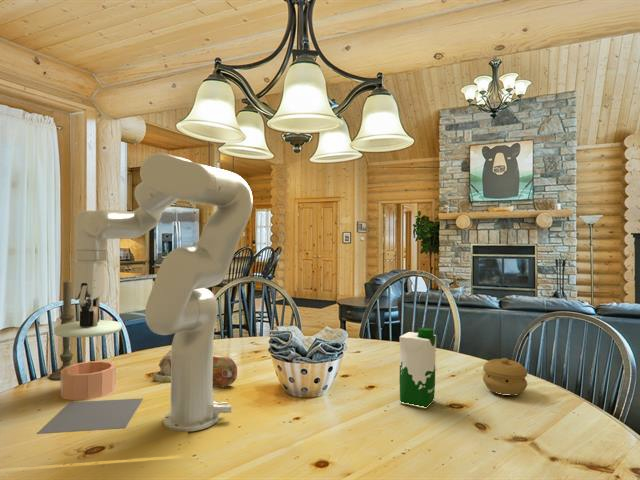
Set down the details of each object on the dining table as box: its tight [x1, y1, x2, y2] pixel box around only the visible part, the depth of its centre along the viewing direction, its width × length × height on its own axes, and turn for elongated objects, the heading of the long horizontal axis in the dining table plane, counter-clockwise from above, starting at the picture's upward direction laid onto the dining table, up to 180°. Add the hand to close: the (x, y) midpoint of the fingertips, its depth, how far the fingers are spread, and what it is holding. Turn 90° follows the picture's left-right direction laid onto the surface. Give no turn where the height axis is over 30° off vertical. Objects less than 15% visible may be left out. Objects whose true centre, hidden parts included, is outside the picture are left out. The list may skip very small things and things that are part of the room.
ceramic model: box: [152, 349, 171, 384], centre depth 133 cm, size 14×11×10 cm
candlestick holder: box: [48, 279, 75, 381], centre depth 133 cm, size 9×9×30 cm
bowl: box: [60, 360, 117, 401], centre depth 118 cm, size 13×13×7 cm
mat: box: [36, 397, 144, 435], centre depth 103 cm, size 18×18×1 cm
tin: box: [213, 354, 238, 388], centre depth 127 cm, size 15×3×8 cm, turn 62°
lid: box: [53, 306, 123, 339], centre depth 115 cm, size 16×16×6 cm
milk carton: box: [399, 326, 437, 407], centre depth 115 cm, size 9×9×20 cm
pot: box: [482, 357, 528, 395], centre depth 123 cm, size 12×12×10 cm
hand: (89, 323), depth 115 cm, fingers closed on lid, 4 cm apart
